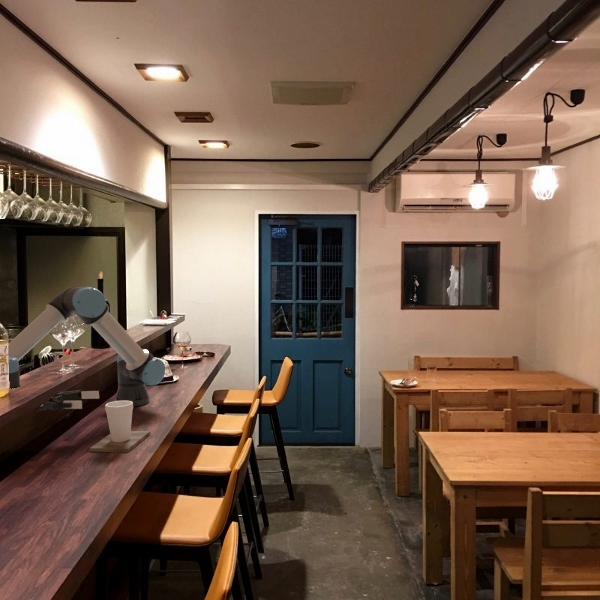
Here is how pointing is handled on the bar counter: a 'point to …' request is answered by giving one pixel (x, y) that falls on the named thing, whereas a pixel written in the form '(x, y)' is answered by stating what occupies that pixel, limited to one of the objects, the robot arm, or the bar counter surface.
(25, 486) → the bar counter surface
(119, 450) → the walnut board
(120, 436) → the foam cup
